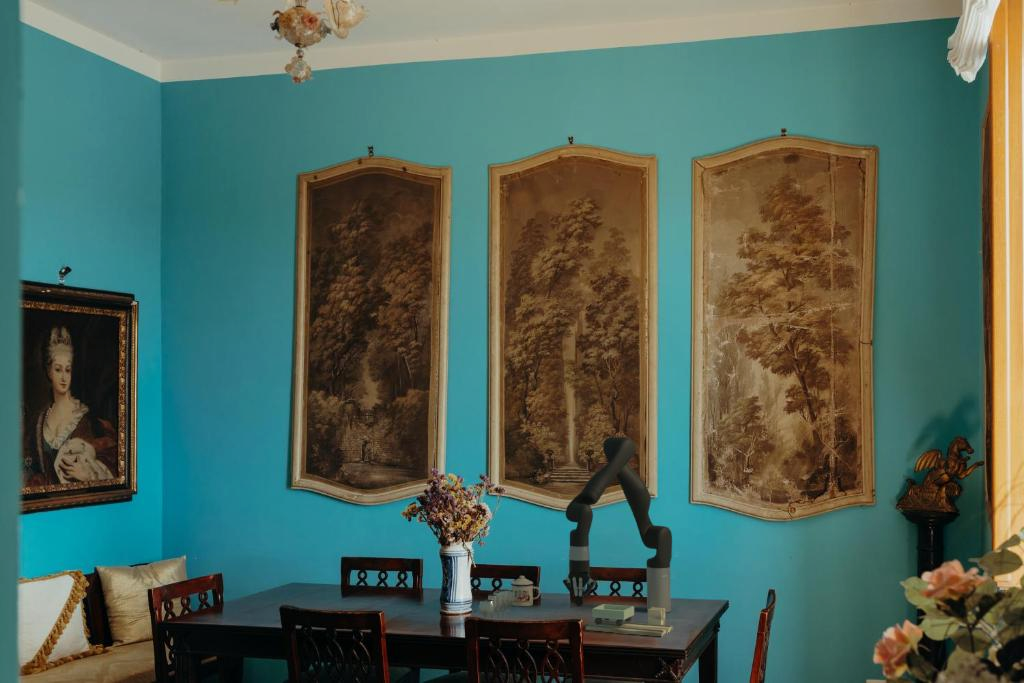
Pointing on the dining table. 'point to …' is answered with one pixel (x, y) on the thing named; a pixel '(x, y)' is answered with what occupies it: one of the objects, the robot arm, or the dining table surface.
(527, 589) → the teacup with lid
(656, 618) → the cream block
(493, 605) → the goblet set
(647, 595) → the robot arm
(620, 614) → the dolly
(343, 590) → the dining table surface
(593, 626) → the rail board
